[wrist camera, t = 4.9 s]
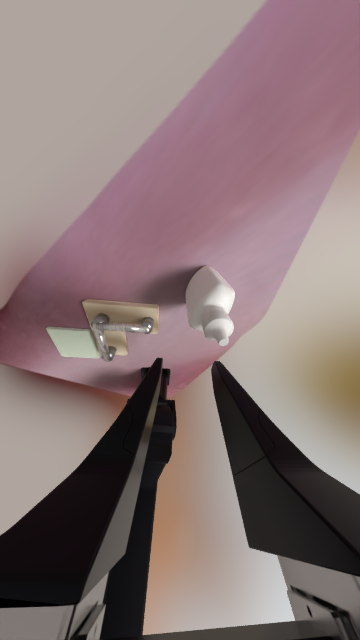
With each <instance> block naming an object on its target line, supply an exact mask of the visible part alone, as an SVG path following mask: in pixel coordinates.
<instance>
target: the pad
mask: <svg viewBox="0 0 360 640" xmlns="http://www.w3.org/2000/svg"><path fill="white" fill-rule="evenodd" d="M46 330H47V332H48V333H49V335H50V337H51V339H52V340H53V342H54V344H55V345H56V347H57V349H58V351H59V352H60V354H61V356H63V357H83V358H99V356H100V355H99V352H98V349H97V346H96V344H95V341H94V338H93V335H92V332H91V329H78V328H62V327H47V328H46Z"/></svg>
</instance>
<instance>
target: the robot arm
mask: <svg viewBox="0 0 360 640" xmlns="http://www.w3.org/2000/svg"><path fill="white" fill-rule="evenodd" d="M162 363H163V359H162V358H156V360H155V361H154V363H153V364H152V366H151V368H142V369H141V372H142V381H141V383H140V384H139V386H138V387H137V389H136V391H135V392H134V394H133V395H132V397H131V398H130V399H128V401H127V404H126V406H125V407H124V409H123V410H122V412H121V413H120V415H119V416H118V418H117V419H116V420H115V422H114V423H113V424H112V426H111V427H110V429H109V430H108V431H107V432H106V433H105V435H104V436H103V437H102V438H101V440H100V441H99V442H98V443H97V445H96V446H95V447H94V448H93V450H92V451H91V452H90V454H89V455H88V456H87V457H86V458H85V459H84V461H83V462H82V463H81V464H80V465H79V466H78V467H77V468H76V470H75V471H73V472H72V473H71V474H70V475H69V476H68V477H67V478H66V479H65V480H64V481H63V482H61V483H60V484H59V485H58V486H57V487H56V488H55V489H54V490H53V491H52V492H51V493H49V494H48V495H47V496H46V497H45V498H44V499H43V500H41V501H40V502H39V503H38V504H37V505H36V506H35V507H34V508H32V509H31V510H30V511H29V512H28V513H27V514H26V515H25V516H24V517H22V518H21V519H20V520H19V521H18V522H17V523H16V524H15V525H14V526H12V527H11V528H10V529H9V530H7V531H6V532H5V533H3V534H2V535H1V536H0V640H360V494H358V493H356V492H355V491H353V490H352V489H350V488H349V487H347V486H345V485H344V484H342V483H341V482H339V481H338V480H336V479H334V478H333V477H331V476H330V475H328V474H326V473H325V472H324V471H322V470H321V469H319V468H318V467H317V466H316V465H314V463H312V462H311V461H310V460H309V459H308V458H307V457H306V456H305V455H304V454H303V453H302V452H301V451H300V450H299V449H298V448H297V447H296V446H295V445H294V444H293V443H292V442H291V441H290V440H289V439H288V438H287V437H286V436H285V435H284V434H283V433H282V432H281V431H280V429H279V428H278V427H277V426H276V425H275V424H274V423H273V422H272V421H271V420H270V419H269V418H268V416H267V415H266V414H265V413H264V412H263V411H262V410H261V409H260V407H259V406H258V405H257V404H256V403H255V402H254V400H253V399H252V398H251V397H250V396H249V394H248V393H247V392H246V391H245V390H244V389H243V388H242V386H241V385H240V384H239V383H238V382H237V381H236V379H235V378H234V377H233V376H232V375H231V374H230V372H229V371H228V370H227V369H226V368H225V367H224V365H223V364H222V363H221V362H220V361H214V363H213V366H212V369H211V371H212V372H211V373H212V381H213V389H214V395H215V399H216V404H217V409H218V413H219V417H220V422H221V426H222V431H223V435H224V439H225V444H226V448H227V453H228V457H229V461H230V466H231V470H232V475H233V479H234V484H235V488H236V492H237V497H238V501H239V506H240V510H241V515H242V519H243V523H244V528H245V532H246V537H247V541H248V545H249V547H250V548H252V549H256V550H260V551H264V552H267V553H271V554H275V555H277V556H278V559H279V563H280V566H281V569H282V572H283V576H284V579H285V582H286V585H287V589H288V590H287V594H288V597H289V601H290V604H291V607H292V611H293V614H294V617H295V621H290V622H279V623H269V624H259V625H248V626H237V627H226V628H216V629H205V630H194V631H184V632H173V633H163V634H152V635H142V633H143V623H144V613H145V603H146V592H147V581H148V572H149V562H150V552H151V542H152V532H153V521H154V511H155V501H156V491H157V482H158V479H159V477H160V475H161V473H162V471H163V469H164V467H165V465H166V464H167V463H168V462H169V459H170V457H171V454H172V440H174V437H175V433H176V410H175V401H174V400H166V398H167V385H169V378H170V369H162ZM143 369H145V370H143ZM167 370H169V371H167Z"/></svg>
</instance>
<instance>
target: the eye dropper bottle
mask: <svg viewBox="0 0 360 640" xmlns="http://www.w3.org/2000/svg"><path fill="white" fill-rule="evenodd" d="M234 297H235V292H234V290H233V289H232V287H231V286H230V285H229V284H228V283H227V282H226V281H225V280H224V278H223V277H222V276H221V275H220V274H219V273H218V272H217V271H216V270H214V269H213V268H211V267H209V266H204V267H202V268H201V269H200V270H198V271H197V272H196V273H195V275H194V276H193V277H192V279H191V280H190V282H189V284H188V286H187V290H186V295H185V298H186V307H187V315H188V321H189V325H190V326H191V327H192V328H194V329H196V330H198V331H202V332H204V334H205V336H206V337H207V338H208V339H209V340H212V341H217V342H218V343H219V345H220V346H226V345H227V344H228V343H229V340H228V337H229V336H230V335H231V334H232V332H233V330H234V325H233V322H232V321H231V319H230V317H229V316H228V313H229V311H230V309H231V307H232V304H233V301H234Z"/></svg>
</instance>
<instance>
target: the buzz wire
mask: <svg viewBox="0 0 360 640" xmlns="http://www.w3.org/2000/svg"><path fill="white" fill-rule="evenodd" d="M82 304H83V307H84V310H85V313H86V316H87V318H88V321H89V324H90V327H91V330H92V333H93V336H94V339H95V342H96V345H97V348H98V350H99V353H100V354H102V359H103V360H104V361H112V359H113V357H114V355H126V356H127V353H128V346H127V340H126V334H125V332H137V333H145V334H148V333H153V334H158V330H159V305H155V304H143V303H131V302H118V301H106V300H93V299H86V300H85V301H83V302H82Z"/></svg>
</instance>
